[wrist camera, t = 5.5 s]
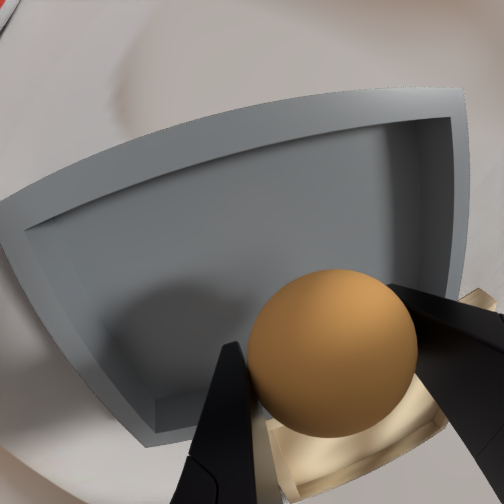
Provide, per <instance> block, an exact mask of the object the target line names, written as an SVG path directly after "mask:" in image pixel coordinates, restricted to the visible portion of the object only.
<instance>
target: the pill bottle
mask: <svg viewBox="0 0 504 504" xmlns="http://www.w3.org/2000/svg"><path fill="white" fill-rule="evenodd" d="M19 1H20V0H0V31H1V29H2V28H3V26H4V25H5V24H6V22H7V21H8V19H9V18H10V16H11V14H12V13H13V11H14V10H15V8H16V6H17V5H18V3H19Z"/></svg>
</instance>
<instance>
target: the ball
mask: <svg viewBox="0 0 504 504" xmlns="http://www.w3.org/2000/svg"><path fill="white" fill-rule="evenodd" d="M417 356H418V347H417V336H416V332H415V327H414V323H413V321H412V319H411V316H410V314H409V312H408V310H407V308H406V307H405V305H404V304H403V302H402V301H401V300H400V299H399V297H398V296H397V295H396V294H395V293H394V292H393V291H392V290H391V289H390V288H388V287H387V286H386V285H384V284H383V283H382V282H380V281H379V280H377V279H375V278H372V277H370V276H368V275H366V274H363V273H360V272H356V271H352V270H344V269H327V270H320V271H316V272H312V273H309V274H306V275H304V276H301V277H299V278H297V279H295V280H293V281H291V282H289V283H288V284H286V285H285V286H283V287H282V288H281V289H280V290H278V291H277V292H276V293H275V294H274V295H273V296H272V297H271V298H270V299H269V300H268V301H267V303H266V304H265V305H264V307H263V308H262V309H261V311H260V313H259V314H258V316H257V318H256V320H255V322H254V325H253V327H252V329H251V332H250V336H249V340H248V346H247V369H248V373H249V376H250V379H251V383H252V386H253V389H254V391H255V394H256V396H257V398H258V400H259V401H260V403H261V404H262V406H263V407H264V408H265V409H266V410H267V412H268V413H269V414H270V415H271V416H272V417H273V418H274V419H276V420H277V421H278V422H280V423H281V424H282V425H284V426H285V427H287V428H289V429H291V430H293V431H295V432H298V433H300V434H304V435H307V436H311V437H318V438H340V437H346V436H350V435H354V434H357V433H360V432H362V431H365V430H367V429H369V428H371V427H373V426H374V425H376V424H377V423H379V422H380V421H382V420H383V419H384V418H385V417H387V416H388V415H389V414H390V413H391V412H392V411H393V410H394V409H395V408H396V406H397V405H398V404H399V403H400V402H401V400H402V399H403V397H404V396H405V394H406V392H407V390H408V388H409V386H410V384H411V382H412V379H413V376H414V373H415V369H416V364H417Z"/></svg>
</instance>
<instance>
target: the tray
mask: <svg viewBox="0 0 504 504" xmlns="http://www.w3.org/2000/svg"><path fill="white" fill-rule="evenodd" d="M469 199H470V155H469V136H468V123H467V114H466V105H465V98H464V90H463V88H444V87H405V88H404V87H403V88H380V89H366V90H365V89H364V90H353V91H343V92H333V93H325V94H317V95H310V96H304V97H297V98H291V99H285V100H279V101H274V102H268V103H263V104H258V105H253V106H249V107H244V108H240V109H235V110H231V111H227V112H223V113H219V114H215V115H211V116H208V117H203V118H200V119H196V120H193V121H189V122H186V123H183V124H179V125H176V126H172V127H170V128H166V129H163V130H160V131H157V132H154V133H151V134H148V135H145V136H142V137H139V138H136V139H133V140H131V141H128V142H125V143H123V144H120V145H117V146H115V147H112V148H110V149H107V150H105V151H102V152H100V153H97V154H95V155H92V156H90V157H88V158H85V159H83V160H81V161H78V162H76V163H74V164H72V165H70V166H67V167H65V168H63V169H61V170H59V171H57V172H55V173H53V174H51V175H48V176H46V177H44V178H42V179H41V180H39V181H37V182H35V183H33V184H31V185H29V186H27V187H25V188H23V189H21V190H20V191H18V192H16V193H14V194H12V195H11V196H9V197H7V198H5V199H4V200H2V201H0V244H1V246H2V248H3V250H4V253H5V255H6V257H7V259H8V261H9V263H10V265H11V267H12V269H13V271H14V273H15V275H16V277H17V279H18V281H19V283H20V285H21V287H22V289H23V290H24V292H25V294H26V296H27V298H28V299H29V301H30V303H31V305H32V306H33V308H34V310H35V311H36V313H37V315H38V316H39V318H40V320H41V321H42V323H43V324H44V326H45V328H46V329H47V331H48V332H49V334H50V335H51V337H52V338H53V340H54V341H55V343H56V344H57V346H58V347H59V348H60V350H61V351H62V353H63V354H64V356H65V357H66V358H67V360H68V361H69V362H70V364H71V365H72V366H73V368H74V369H75V370H76V372H77V373H78V374H79V376H80V377H81V378H82V379H83V381H84V382H85V383H86V384H87V386H88V387H89V388H90V389H91V390H92V392H93V393H94V394H95V395H96V396H97V398H98V399H99V400H100V401H101V402H102V403H103V405H104V406H105V407H106V408H107V409H108V410H109V411H110V412H111V413H112V415H113V416H114V417H115V418H116V419H117V420H118V421H119V422H120V423H121V424H122V425H123V426H124V427H125V428H126V429H127V430H128V431H129V432H130V433H131V434H132V435H133V436H134V437H135V438H136V439H137V440H138V441H139V442H140V443H141V444H142V445H143V446H144V447H145V448H148V447H154V446H160V445H166V444H172V443H177V442H182V441H187V440H192V439H193V437H194V434H195V430H196V427H197V424H198V421H199V418H200V415H201V411H202V408H203V405H204V402H205V399H206V396H207V392H208V389H209V386H210V383H211V380H212V377H213V373H214V370H215V367H216V364H217V361H218V358H219V354H220V351H221V348H222V346H223V345H224V344H226V343H230V342H233V341H238V342H239V344H240V346H241V349H242V352H243V355H244V357H245V360H246V363H247V346H248V340H249V336H250V332H251V329H252V327H253V325H254V322H255V320H256V318H257V316H258V314H259V313H260V311H261V309H262V308H263V307H264V305H265V304H266V303H267V301H268V300H269V299H270V298H271V297H272V296H273V295H274V294H275V293H276V292H277V291H278V290H280V289H281V288H282V287H283V286H285V285H286V284H288V283H289V282H291V281H293V280H295V279H297V278H299V277H301V276H304V275H306V274H309V273H312V272H316V271H320V270H327V269H344V270H352V271H356V272H360V273H363V274H366V275H368V276H370V277H372V278H375V279H377V280H379V281H380V282H382V283H383V284H384V285H387V284H390V283H393V284H397V285H401V286H404V287H408V288H412V289H415V290H419V291H422V292H426V293H430V294H433V295H437V296H440V297H444V298H448V299H451V300H455V301H458V296H459V291H460V285H461V279H462V273H463V266H464V259H465V251H466V242H467V231H468V218H469ZM260 404H261V403H260ZM261 407H262V410H263V413H264V417H265V420H267V419H270V418H273V417H272V416H271V415H270V414H269V413H268V412H267V410H266V409H265V408H264V407H263V406H262V404H261Z"/></svg>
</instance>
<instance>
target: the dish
mask: <svg viewBox="0 0 504 504" xmlns="http://www.w3.org/2000/svg"><path fill="white" fill-rule="evenodd" d="M458 302H462V303H465V304H469V305H473V306H476V307H480V308H483V309H487V310H490V311H494V312H495V309H496V305H497V302H498V301H497V300H495V299H494V298H492V297H491V296H490V295H488V294H487V293H486V292H484V291H483V290H482V289H480V288H478V289H476V290H475V291H473V292H472V293H470V294H469V295H467V296H466V297H464V298H462V299H461V300H459V301H458ZM265 421H266V425H267V430H268V435H269V440H270V445H271V450H272V455H273V460H274V465H275V469H276V474H277V479H278V484H279V485H280V487H281V489H282V490H283V492H284V494H285V495H286V497H287V499H288V500H289V502H290V504H292V503H295V502H298V501H301V500H304V499H307V498H310V497H313V496H315V495H318V494H321V493H323V492H326V491H329V490H331V489H334V488H336V487H339V486H341V485H343V484H346V483H348V482H350V481H353V480H355V479H357V478H359V477H361V476H363V475H366V474H368V473H370V472H372V471H374V470H376V469H378V468H380V467H382V466H383V465H386V464H387V463H389V462H391V461H393V460H395V459H397V458H398V457H400V456H402V455H404V454H405V453H407V452H409V451H411V450H412V449H414V448H416V447H417V446H419V445H420V444H422V443H424V442H425V441H427V440H428V439H430V438H431V437H433V436H434V435H436V434H437V433H439V432H440V431H442V430H443V429H445V427H446V426H447V424H448V422H449V420H448V419H447V417H446V416H445V415H444V413H443V412H442V410H441V409H440V407H439V406H438V405H437V403H436V402H435V400H434V399H433V398H432V396H431V395H430V393H429V392H428V391H427V389H426V388H425V386H424V385H423V384H422V382H421V381H420V380H419V378H418V377H417V375H416V374H415V373H414V376H413V379H412V382H411V384H410V386H409V388H408V390H407V392H406V394H405V396H404V397H403V399H402V400H401V402H400V403H399V404H398V405H397V406H396V408H395V409H394V410H393V411H392V412H391V413H390V414H389V415H388V416H387V417H385V418H384V419H383V420H382V421H380V422H379V423H377V424H376V425H374V426H373V427H371V428H369V429H367V430H365V431H362V432H360V433H357V434H354V435H350V436H346V437H340V438H318V437H311V436H307V435H304V434H300V433H298V432H295V431H293V430H291V429H289V428H287V427H285V426H284V425H282V424H281V423H280V422H278V421H277V420H276V419H274V418H270V419H267V420H265Z"/></svg>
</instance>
